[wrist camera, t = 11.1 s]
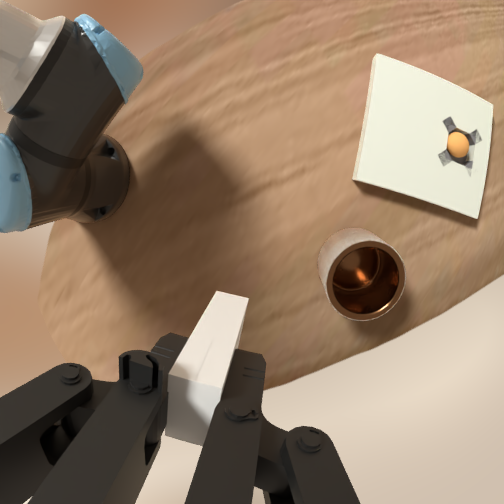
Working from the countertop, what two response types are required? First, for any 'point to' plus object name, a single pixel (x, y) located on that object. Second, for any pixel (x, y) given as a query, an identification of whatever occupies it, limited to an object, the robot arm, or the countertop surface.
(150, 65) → the countertop surface
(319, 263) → the planter
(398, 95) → the plate
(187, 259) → the countertop surface
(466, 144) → the ball
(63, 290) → the countertop surface
